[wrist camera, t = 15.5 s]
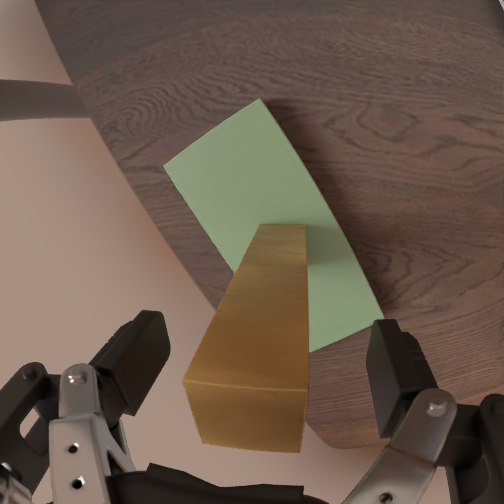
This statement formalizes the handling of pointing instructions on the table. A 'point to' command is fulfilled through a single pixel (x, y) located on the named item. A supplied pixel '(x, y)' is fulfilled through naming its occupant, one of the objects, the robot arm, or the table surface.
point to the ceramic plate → (502, 3)
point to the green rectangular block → (274, 214)
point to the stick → (257, 350)
